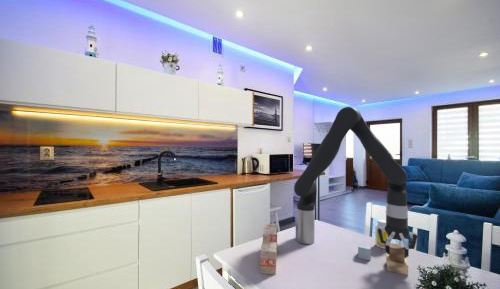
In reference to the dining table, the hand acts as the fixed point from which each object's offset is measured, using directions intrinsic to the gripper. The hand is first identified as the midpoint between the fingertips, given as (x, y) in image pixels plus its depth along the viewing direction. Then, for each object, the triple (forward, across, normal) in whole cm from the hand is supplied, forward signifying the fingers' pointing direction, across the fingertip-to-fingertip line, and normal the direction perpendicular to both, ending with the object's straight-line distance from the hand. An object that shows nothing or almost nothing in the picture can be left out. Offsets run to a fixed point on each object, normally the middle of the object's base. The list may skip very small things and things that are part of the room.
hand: (396, 255), depth 90 cm
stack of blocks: (+6, -49, -20) cm, 53 cm away
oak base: (+6, 0, 0) cm, 6 cm away
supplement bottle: (+6, -4, +20) cm, 21 cm away
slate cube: (+6, -12, +4) cm, 14 cm away
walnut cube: (+1, 0, 0) cm, 1 cm away
